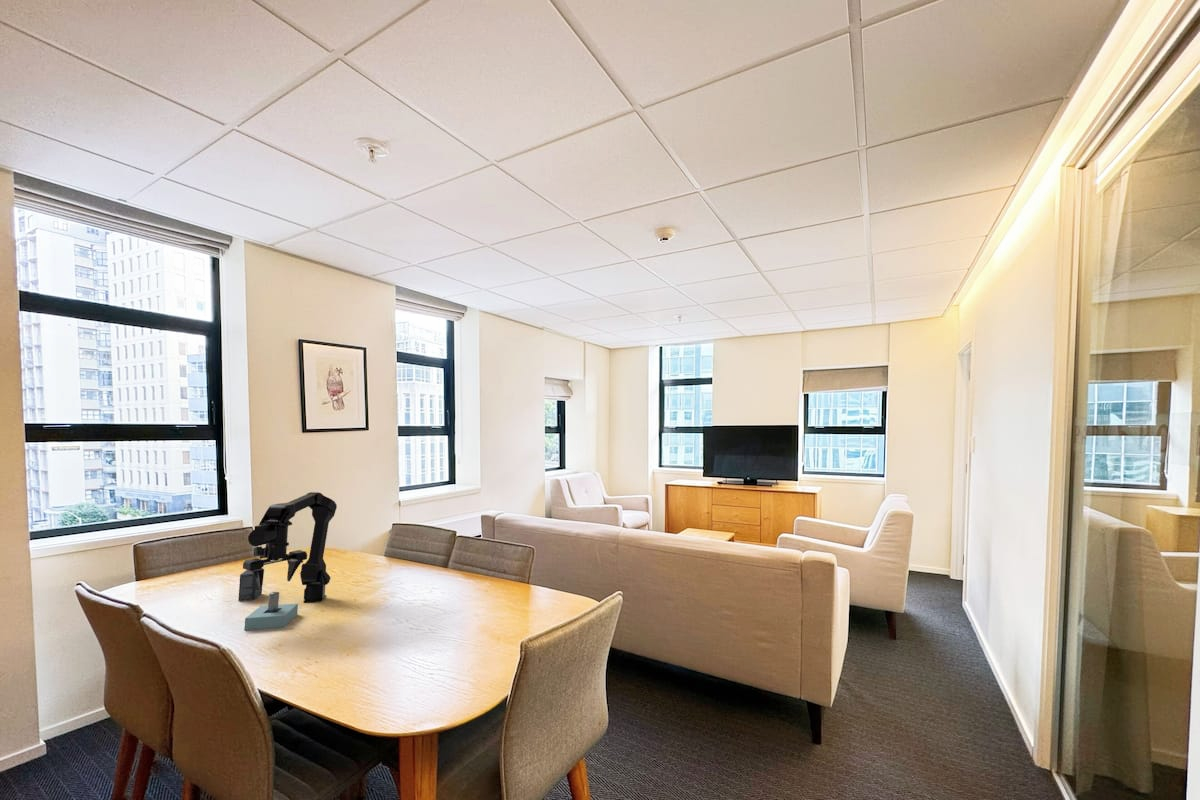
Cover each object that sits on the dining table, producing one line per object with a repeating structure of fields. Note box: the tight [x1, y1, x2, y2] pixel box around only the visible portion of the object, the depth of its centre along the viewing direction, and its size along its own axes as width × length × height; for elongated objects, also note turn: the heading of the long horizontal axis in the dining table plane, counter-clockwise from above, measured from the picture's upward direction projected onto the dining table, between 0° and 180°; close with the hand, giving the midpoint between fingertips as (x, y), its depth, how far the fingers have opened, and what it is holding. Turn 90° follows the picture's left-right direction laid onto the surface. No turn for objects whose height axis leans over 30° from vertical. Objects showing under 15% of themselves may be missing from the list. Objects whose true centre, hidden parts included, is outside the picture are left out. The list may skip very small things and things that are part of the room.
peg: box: [267, 591, 280, 613], centre depth 167 cm, size 3×3×10 cm
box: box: [238, 567, 264, 602], centre depth 191 cm, size 8×6×11 cm
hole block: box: [243, 603, 299, 631], centre depth 167 cm, size 12×12×4 cm
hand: (274, 584), depth 168 cm, fingers open, 9 cm apart
